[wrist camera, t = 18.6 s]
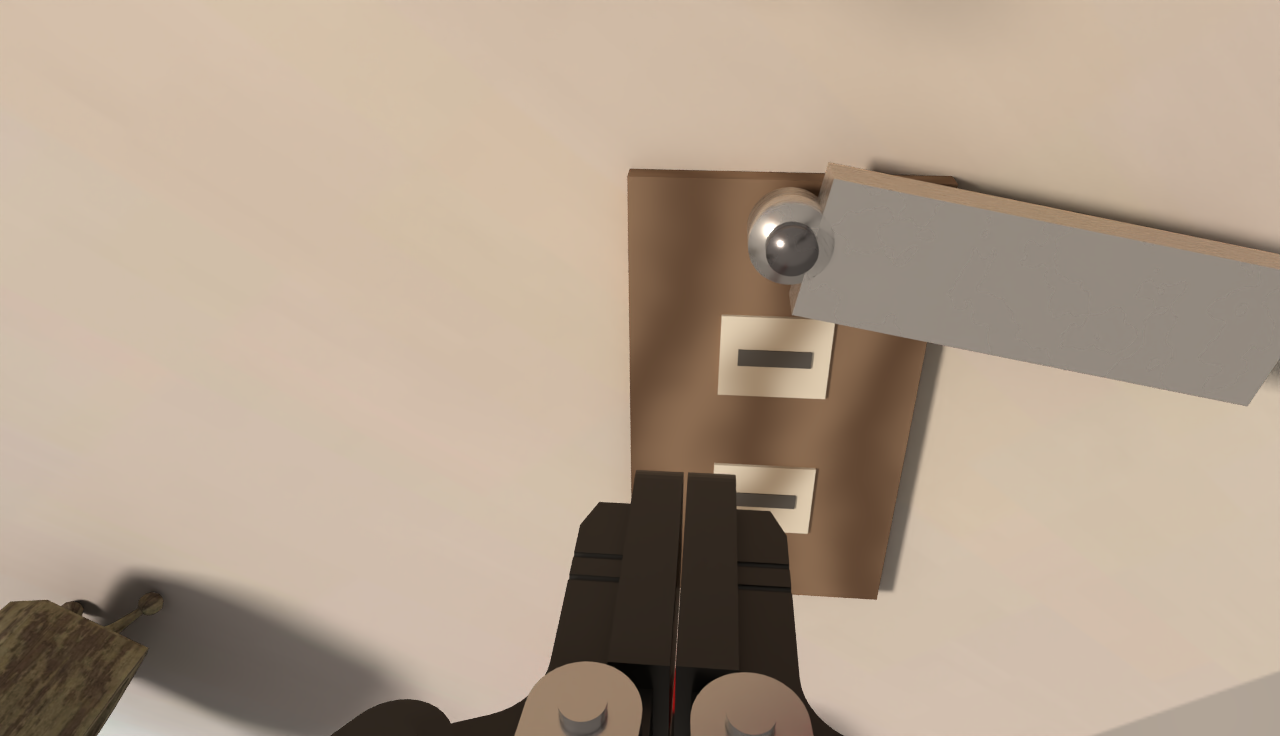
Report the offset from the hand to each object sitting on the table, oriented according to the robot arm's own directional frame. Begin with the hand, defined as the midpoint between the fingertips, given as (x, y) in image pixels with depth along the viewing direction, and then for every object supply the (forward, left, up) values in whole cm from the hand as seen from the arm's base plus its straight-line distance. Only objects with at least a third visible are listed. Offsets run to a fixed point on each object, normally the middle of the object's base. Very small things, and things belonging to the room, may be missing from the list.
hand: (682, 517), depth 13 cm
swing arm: (-15, +9, -30) cm, 34 cm away
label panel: (-4, +19, -32) cm, 37 cm away
